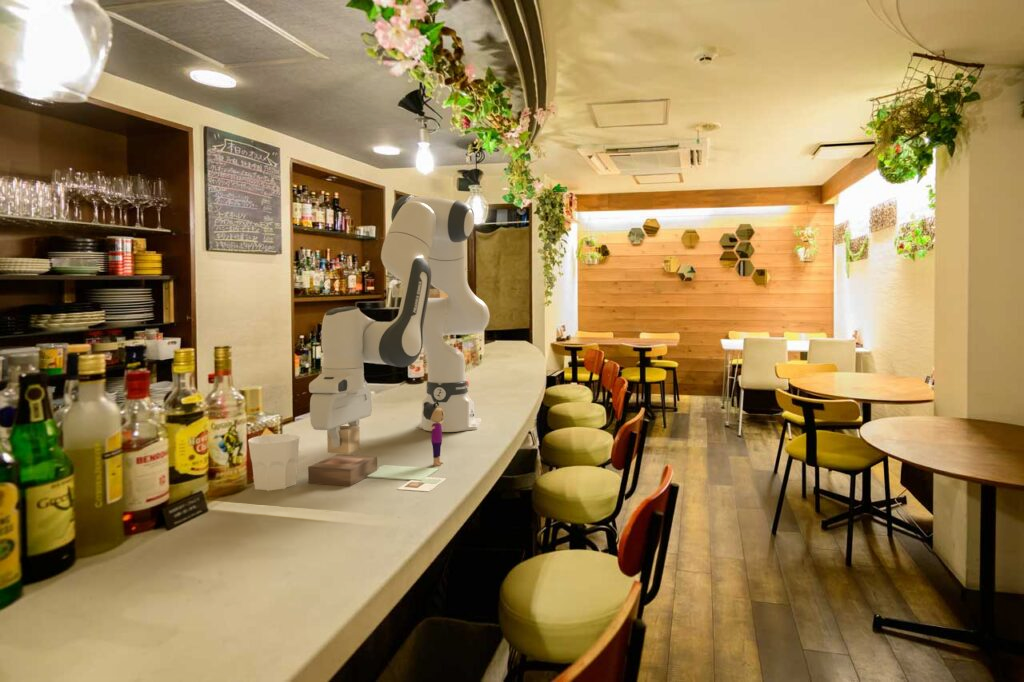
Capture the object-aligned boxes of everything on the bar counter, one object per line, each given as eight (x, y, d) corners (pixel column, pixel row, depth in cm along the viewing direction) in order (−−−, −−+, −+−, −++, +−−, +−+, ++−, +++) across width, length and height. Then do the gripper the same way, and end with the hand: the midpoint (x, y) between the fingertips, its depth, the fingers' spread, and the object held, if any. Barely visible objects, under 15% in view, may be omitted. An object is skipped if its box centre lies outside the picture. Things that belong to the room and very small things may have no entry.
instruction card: (416, 476, 134) (416, 475, 134) (446, 478, 133) (446, 477, 133) (397, 489, 125) (397, 488, 125) (429, 491, 123) (429, 490, 123)
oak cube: (339, 447, 137) (339, 425, 137) (359, 448, 136) (359, 426, 136) (327, 452, 132) (327, 429, 132) (348, 453, 131) (348, 430, 131)
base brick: (338, 469, 141) (337, 454, 141) (377, 471, 139) (377, 456, 139) (308, 482, 130) (308, 466, 130) (350, 486, 127) (350, 469, 127)
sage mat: (383, 466, 144) (383, 465, 144) (438, 469, 141) (438, 468, 141) (362, 477, 134) (362, 475, 134) (421, 481, 131) (421, 479, 131)
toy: (437, 470, 140) (436, 405, 139) (414, 469, 141) (413, 405, 140) (450, 460, 150) (450, 399, 149) (429, 459, 151) (428, 399, 150)
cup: (310, 481, 132) (309, 435, 131) (278, 493, 122) (277, 444, 122) (272, 477, 135) (271, 432, 134) (238, 489, 125) (237, 441, 125)
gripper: (353, 376, 144) (354, 434, 145) (303, 385, 124) (305, 452, 125) (378, 376, 143) (378, 435, 143) (331, 386, 123) (332, 454, 123)
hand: (344, 443), depth 134 cm, fingers closed on oak cube, 5 cm apart
